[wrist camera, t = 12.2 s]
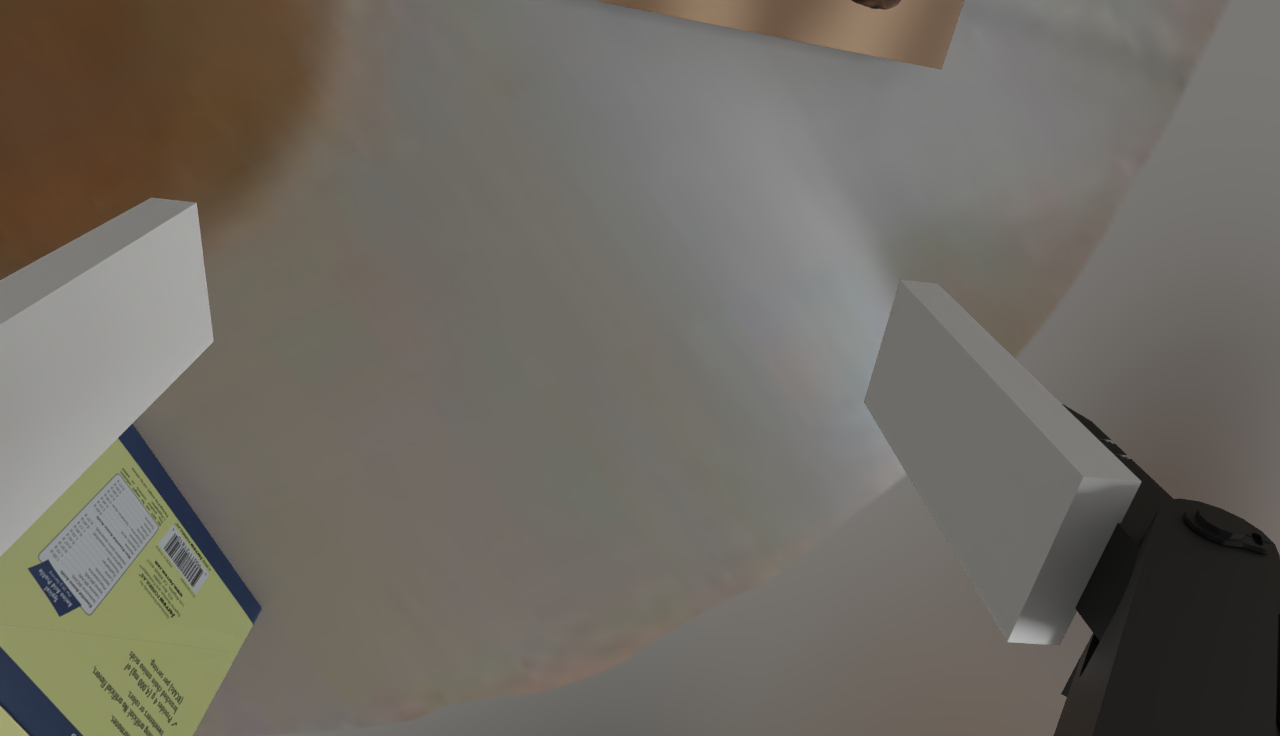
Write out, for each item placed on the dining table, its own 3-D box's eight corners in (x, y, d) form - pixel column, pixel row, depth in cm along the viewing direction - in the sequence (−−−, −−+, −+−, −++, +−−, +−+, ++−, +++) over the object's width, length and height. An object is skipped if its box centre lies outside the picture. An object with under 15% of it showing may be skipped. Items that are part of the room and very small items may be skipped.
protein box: (124, 649, 52) (-53, 897, 39) (-35, 460, 46) (-320, 677, 32) (268, 610, 51) (139, 850, 37) (126, 409, 44) (-96, 612, 31)
